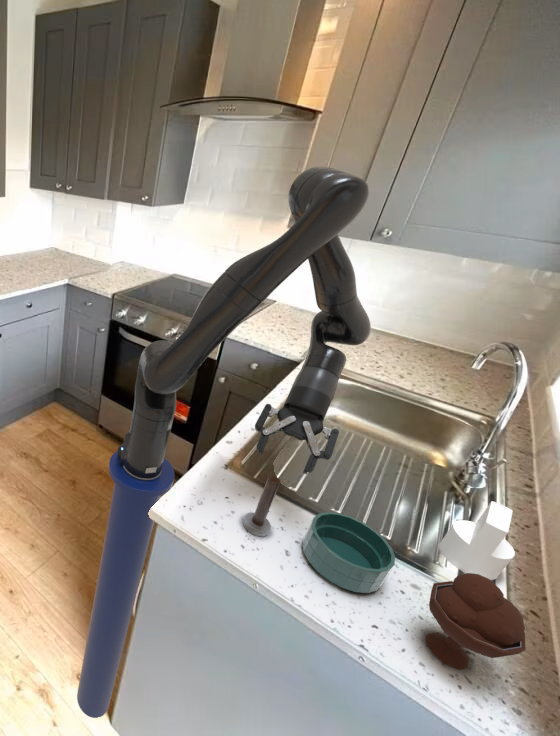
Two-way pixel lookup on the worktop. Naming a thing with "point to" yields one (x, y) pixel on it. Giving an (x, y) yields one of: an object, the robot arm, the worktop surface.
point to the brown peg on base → (262, 509)
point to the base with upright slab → (480, 543)
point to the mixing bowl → (348, 552)
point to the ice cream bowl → (473, 621)
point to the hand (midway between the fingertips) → (281, 463)
